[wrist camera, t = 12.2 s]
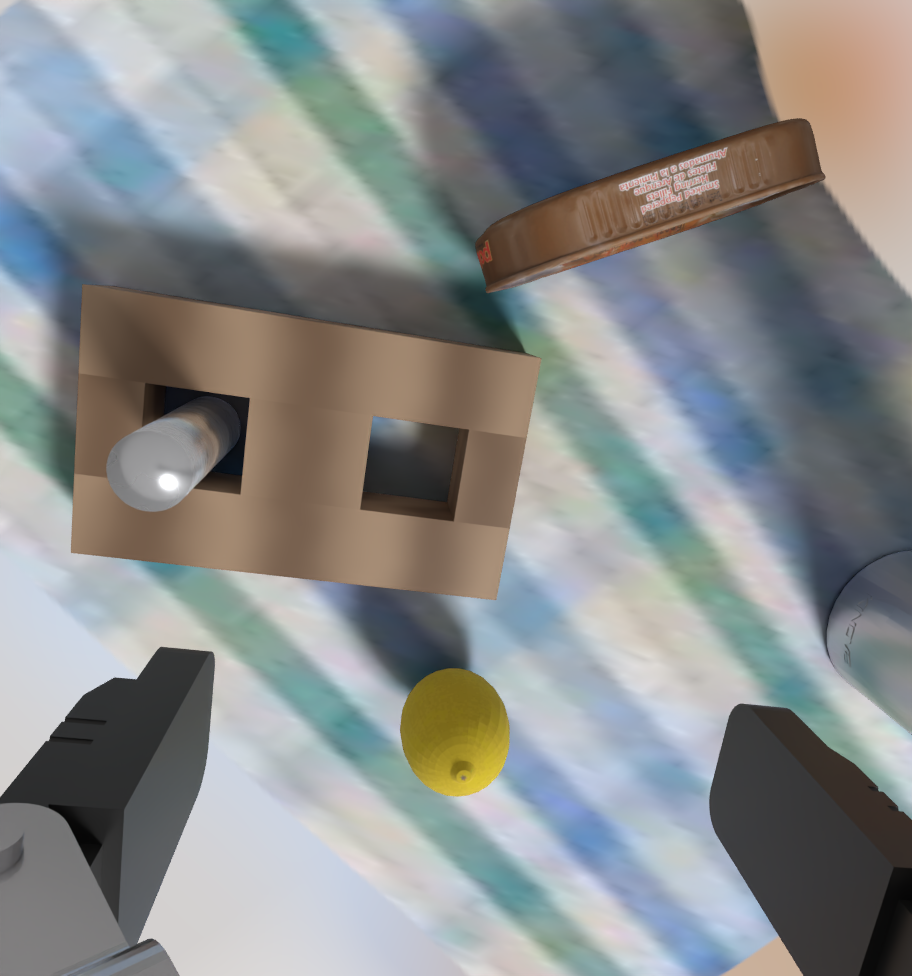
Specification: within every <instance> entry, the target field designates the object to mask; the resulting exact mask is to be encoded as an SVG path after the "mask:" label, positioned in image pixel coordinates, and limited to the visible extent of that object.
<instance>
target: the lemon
mask: <svg viewBox="0 0 912 976" xmlns="http://www.w3.org/2000/svg"><path fill="white" fill-rule="evenodd" d="M400 733H401V740H402V746H403V750H404V753H405V756H406V758H407V760H408V762H409V764H410V766H411V768H412V770H413V772H414V773H415V775H416V776H417V777H418V778H419V779H420V780H421V781H422V782H423V783H424V784H425V785H426V786H428V787H429V788H431V789H432V790H434V791H436V792H438V793H441V794H444V795H447V796H466V795H470V794H473V793H476V792H479V791H480V790H482V789H484V788H485V787H487V786H488V785H489V784H490V783H491V782H492V781H493V780H494V779H495V778H496V777H497V776H498V774H499V773H500V771H501V769H502V768H503V766H504V764H505V760H506V757H507V754H508V750H509V721H508V717H507V713H506V709H505V706H504V704H503V702H502V700H501V698H500V697H499V695H498V694H497V692H496V690H495V689H494V688H493V687H492V686H491V685H490V684H489V683H488V682H487V681H486V680H485V679H484V678H483V677H481V676H479V675H477V674H475V673H473V672H471V671H468V670H464V669H460V668H447V669H443V670H439V671H436V672H434V673H432V674H429V675H427V676H426V677H425V678H423V679H422V680H421V681H420V682H418V683H417V685H416V686H415V687H414V688H413V690H412V691H411V692H410V694H409V695H408V698H407V700H406V702H405V705H404V707H403V710H402V717H401V726H400Z"/></svg>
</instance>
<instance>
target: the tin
mask: <svg viewBox="0 0 912 976" xmlns="http://www.w3.org/2000/svg"><path fill="white" fill-rule="evenodd" d="M824 179H825V175H824V173H823V172H822V171H821V167H820V162H819V157H818V153H817V149H816V144H815V139H814V135H813V131H812V128H811V125H810V123H809V122H808V121H807V120H805V119H790V120H785V121H781V122H777V123H773V124H769V125H766V126H762V127H759V128H756V129H752V130H749V131H746V132H743V133H740V134H737V135H733V136H730V137H727V138H724V139H721V140H718V141H715V142H712V143H708V144H705V145H702V146H699V147H696V148H693V149H689V150H686V151H683V152H680V153H677V154H674V155H671V156H668V157H665V158H662V159H659V160H656V161H653V162H650V163H647V164H644V165H641V166H638V167H635V168H632V169H629V170H626V171H624V172H620V173H617V174H614V175H611V176H609V177H606V178H603V179H600V180H597V181H595V182H592V183H589V184H586V185H583V186H580V187H577V188H574V189H571V190H569V191H566V192H563V193H560V194H558V195H555V196H552V197H550V198H547V199H545V200H542V201H540V202H537V203H535V204H532V205H530V206H528V207H525V208H523V209H521V210H519V211H516V212H514V213H512V214H510V215H508V216H506V217H504V218H502V219H500V220H499V221H497V222H495V223H494V224H492V225H491V226H490V227H489V228H487V229H486V231H485V232H484V234H483V235H482V236H481V237H480V238H478V240H477V241H476V243H475V247H476V252H477V255H478V259H479V262H480V265H481V268H482V271H483V275H484V278H485V281H486V292H487V293H491V292H495V291H499V290H504V289H508V288H512V287H516V286H519V285H522V284H525V283H528V282H532V281H534V280H537V279H540V278H542V277H546V276H549V275H552V274H556V273H559V272H562V271H565V270H568V269H571V268H574V267H577V266H580V265H583V264H586V263H589V262H592V261H595V260H598V259H601V258H604V257H607V256H610V255H613V254H617V253H619V252H622V251H625V250H629V249H632V248H635V247H638V246H641V245H644V244H647V243H650V242H653V241H656V240H659V239H662V238H665V237H668V236H671V235H674V234H677V233H680V232H683V231H686V230H689V229H692V228H695V227H698V226H701V225H703V224H706V223H709V222H711V221H715V220H718V219H721V218H724V217H727V216H730V215H732V214H735V213H738V212H741V211H743V210H746V209H749V208H751V207H754V206H757V205H760V204H762V203H765V202H767V201H770V200H773V199H776V198H778V197H781V196H783V195H786V194H788V193H791V192H793V191H796V190H799V189H802V188H805V187H807V186H809V185H812V184H815V183H817V182H819V181H822V180H824Z"/></svg>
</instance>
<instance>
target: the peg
mask: <svg viewBox="0 0 912 976" xmlns="http://www.w3.org/2000/svg"><path fill="white" fill-rule="evenodd" d="M240 432H241V424H240V419H239V417H238V415H237V413H236V411H235V410H234V408H233V407H232V406H231V405H230V404H228V403H227V402H226V401H224V400H222V399H220V398H217V397H212V396H203V397H199V398H196V399H194V400H192V401H190V402H188V403H186V404H184V405H182V406H181V407H179V408H177V409H175V410H173V411H171V412H170V413H168V414H166V415H164V416H162V417H160V418H158V419H157V420H155V421H153V422H151V423H149V424H147V425H146V426H144V427H142V428H140V429H138V430H136V431H135V432H133V433H131V434H129V435H127V436H125V437H124V438H122V439H121V440H120V441H118V442H117V443H116V444H115V446H114V447H113V448H112V450H111V452H110V454H109V456H108V460H107V465H106V472H107V478H108V481H109V484H110V486H111V488H112V489H113V491H114V492H115V494H116V495H117V496H118V497H119V498H120V499H121V500H122V501H123V502H125V503H126V504H128V505H129V506H131V507H133V508H136V509H139V510H142V511H149V512H156V511H163V510H166V509H169V508H171V507H173V506H175V505H176V504H178V503H179V502H180V501H181V500H182V499H183V498H184V497H185V496H186V495H187V494H188V493H189V492H190V491H191V490H192V489H193V488H194V487H195V486H196V485H197V484H198V483H199V482H200V481H201V480H202V479H203V478H204V477H205V476H206V475H207V474H208V473H209V472H210V471H211V470H212V469H213V468H214V466H215V465H216V464H217V463H218V462H219V461H220V460H221V459H222V458H223V457H224V456H225V455H226V454H227V453H228V452H229V451H230V450H231V449H232V448H233V447H234V446H235V444H236V443H237V441H238V439H239V436H240Z"/></svg>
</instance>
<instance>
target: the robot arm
mask: <svg viewBox="0 0 912 976" xmlns="http://www.w3.org/2000/svg"><path fill="white" fill-rule="evenodd" d="M827 648H828V652H829V655H830V659H831V661H832V663H833V665H834V667H835V669H836V670H837V672H838V673H839V674H840V675H841V676H842V677H843V678H844V679H845V681H846V682H848V683H849V684H850V685H851V686H853V687H854V688H855V689H856V690H858V691H859V692H860V693H861V694H862V695H864V696H865V697H866V698H867V699H869V700H870V701H871V702H872V703H874V704H875V705H876V706H877V707H879V708H880V709H881V710H882V711H883V712H885V713H886V714H887V715H888V716H889V717H890V718H892V719H893V720H894V721H895V722H897V723H898V724H899V725H900V726H902V727H903V728H904V729H905V730H907V731H908V732H909V733H910V734H912V551H901V552H898V553H894V554H891V555H887V556H885V557H883V558H881V559H879V560H877V561H875V562H873V563H871V564H869V565H868V566H867V567H865V568H864V569H863V570H861V571H860V572H859V573H857V574H856V575H855V576H854V578H853V579H852V580H851V581H850V582H849V583H848V584H847V585H846V586H845V587H844V589H843V591H842V592H841V594H840V595H839V597H838V598H837V600H836V602H835V604H834V607H833V609H832V612H831V614H830V617H829V622H828V627H827ZM214 669H215V658H214V653H213V652H209V651H199V650H188V649H178V648H167V647H160V648H159V649H158V650H157V651H156V653H155V654H154V655H153V657H152V658H151V660H150V661H149V662H148V664H147V665H146V667H145V668H144V670H143V671H142V672H141V674H140V675H139V677H138V678H137V679H125V678H113V679H111V680H109V681H107V682H106V683H104V684H102V685H100V686H99V687H97V688H95V689H94V690H92V691H90V692H88V693H86V694H85V695H83V696H82V698H81V699H80V700H79V701H78V703H77V704H76V705H75V706H74V707H73V709H72V710H71V711H70V713H69V714H68V715H67V716H66V717H65V721H64V722H61V723H60V725H59V726H58V727H57V728H56V729H55V731H54V732H53V733H52V734H51V736H50V740H49V741H46V742H45V743H44V744H43V746H42V747H41V748H40V749H39V750H38V752H37V753H36V754H35V755H34V756H33V758H32V759H31V760H30V761H29V763H28V764H27V765H26V766H25V768H24V769H23V770H22V771H21V772H20V774H19V775H18V776H17V777H16V779H15V780H14V781H13V782H12V783H11V785H10V786H9V787H8V788H7V790H6V791H5V792H4V794H3V795H2V796H1V797H0V976H179V974H178V972H177V971H176V968H175V967H174V965H173V963H172V961H171V959H170V957H169V956H168V954H167V952H166V951H165V949H164V948H163V947H162V946H161V945H160V943H158V942H157V941H156V940H154V939H147V940H145V941H143V942H141V943H138V944H137V942H138V940H139V938H140V935H141V933H142V930H143V928H144V925H145V923H146V920H147V918H148V916H149V913H150V910H151V908H152V906H153V903H154V901H155V898H156V896H157V893H158V891H159V889H160V886H161V884H162V881H163V879H164V876H165V874H166V871H167V869H168V866H169V864H170V862H171V859H172V857H173V854H174V852H175V849H176V847H177V845H178V842H179V840H180V837H181V835H182V832H183V830H184V827H185V825H186V823H187V820H188V818H189V815H190V813H191V810H192V808H193V805H194V803H195V801H196V798H197V796H198V793H199V790H200V786H201V783H202V779H203V775H204V770H205V766H206V759H207V753H208V743H209V731H210V719H211V706H212V694H213V682H214ZM709 806H710V816H711V821H712V825H713V828H714V830H715V833H716V835H717V836H718V838H719V840H720V841H721V843H722V845H723V846H724V848H725V849H726V851H727V853H728V854H729V856H730V857H731V859H732V861H733V862H734V864H735V866H736V867H737V869H738V870H739V872H740V874H741V875H742V877H743V878H744V880H745V882H746V883H747V885H748V887H749V888H750V890H751V891H752V893H753V895H754V896H755V898H756V900H757V901H758V903H759V904H760V906H761V908H762V909H763V911H764V912H765V914H766V916H767V917H768V919H769V921H770V922H771V924H772V925H773V927H774V929H775V930H776V932H777V933H778V935H779V937H780V938H781V940H782V942H783V943H784V945H785V946H786V948H787V950H788V951H789V953H790V954H791V956H792V957H793V959H794V961H795V963H796V964H797V966H798V967H799V969H800V971H801V972H802V974H803V976H912V820H911V819H910V818H909V817H908V816H907V815H906V814H905V813H904V812H900V811H898V806H897V805H896V804H895V803H894V802H893V801H892V800H891V799H890V798H889V797H888V796H887V795H886V794H885V793H884V792H879V791H878V786H876V785H875V784H874V783H873V782H872V781H871V780H870V779H869V778H868V777H867V776H866V775H865V774H864V773H863V772H862V771H861V770H860V769H859V768H858V767H857V766H856V765H855V764H854V763H852V762H851V761H849V760H848V759H846V758H844V757H843V756H841V755H840V754H838V753H837V752H835V751H834V750H832V749H830V748H829V747H828V746H827V745H826V744H825V743H824V742H823V741H822V740H821V739H820V738H819V737H818V736H817V735H816V734H815V733H814V732H813V731H812V730H811V729H810V728H809V727H808V726H807V725H806V724H805V723H804V722H803V721H802V720H801V719H800V718H799V717H798V716H797V715H796V714H795V713H794V712H792V711H791V710H790V709H788V708H781V707H771V706H761V705H750V704H738V705H737V706H735V707H734V709H733V710H732V712H731V714H730V716H729V719H728V723H727V727H726V731H725V735H724V739H723V743H722V747H721V750H720V754H719V758H718V762H717V766H716V770H715V774H714V778H713V782H712V786H711V791H710V799H709Z"/></svg>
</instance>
